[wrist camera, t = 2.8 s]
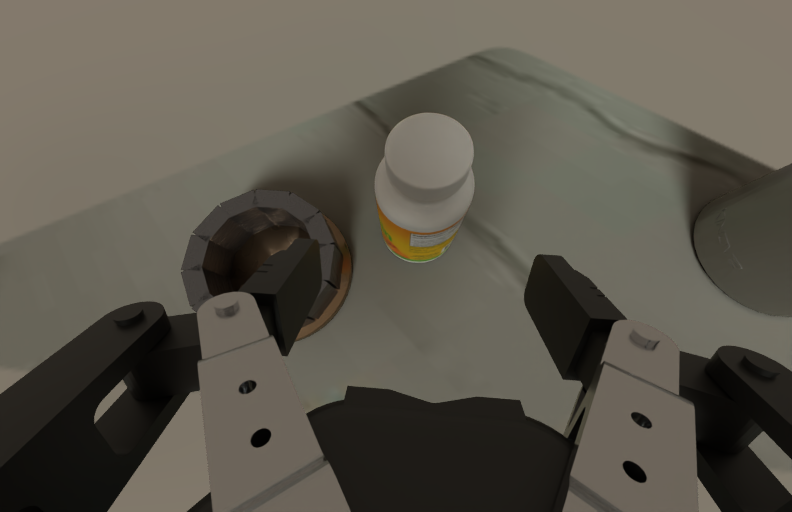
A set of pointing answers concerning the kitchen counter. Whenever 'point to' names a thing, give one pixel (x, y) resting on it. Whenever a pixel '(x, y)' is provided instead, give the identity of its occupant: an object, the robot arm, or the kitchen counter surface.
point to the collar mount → (265, 250)
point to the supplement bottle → (424, 185)
